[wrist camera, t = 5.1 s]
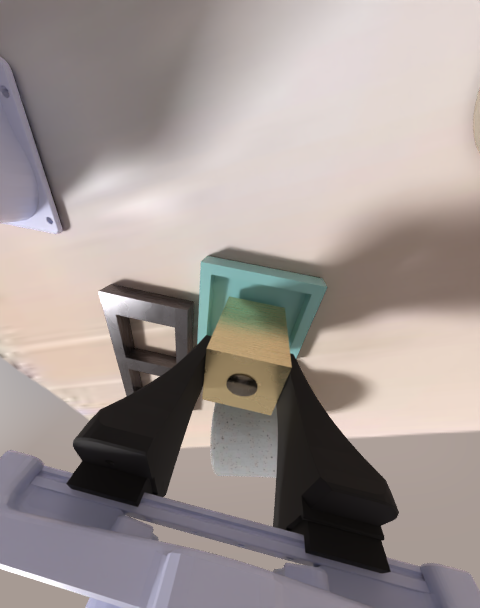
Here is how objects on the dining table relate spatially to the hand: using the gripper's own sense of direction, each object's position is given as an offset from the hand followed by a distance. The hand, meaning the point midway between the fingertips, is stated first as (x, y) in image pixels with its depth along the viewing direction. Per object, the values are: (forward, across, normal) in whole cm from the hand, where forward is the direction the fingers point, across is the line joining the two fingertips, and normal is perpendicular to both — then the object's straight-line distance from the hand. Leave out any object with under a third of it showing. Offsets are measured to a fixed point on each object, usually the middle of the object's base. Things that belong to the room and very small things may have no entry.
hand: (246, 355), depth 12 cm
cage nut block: (+4, 0, 0) cm, 4 cm away
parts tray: (+5, 0, 0) cm, 5 cm away
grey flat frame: (+5, +10, +9) cm, 14 cm away
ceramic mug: (+5, -2, +10) cm, 12 cm away
